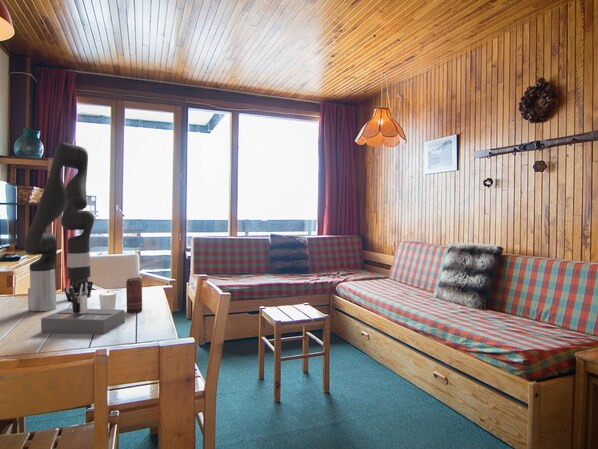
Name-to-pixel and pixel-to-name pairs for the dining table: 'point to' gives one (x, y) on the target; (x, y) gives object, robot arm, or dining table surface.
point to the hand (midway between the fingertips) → (79, 311)
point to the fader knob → (82, 304)
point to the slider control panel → (83, 321)
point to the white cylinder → (107, 300)
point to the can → (134, 295)
